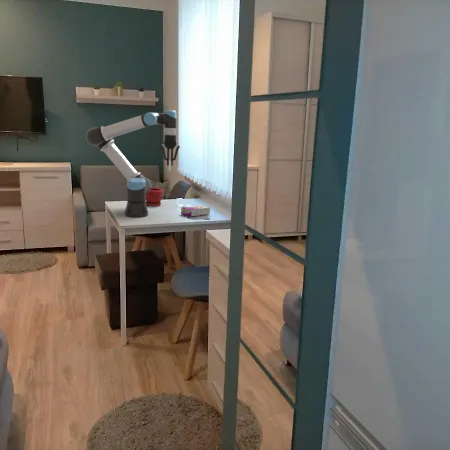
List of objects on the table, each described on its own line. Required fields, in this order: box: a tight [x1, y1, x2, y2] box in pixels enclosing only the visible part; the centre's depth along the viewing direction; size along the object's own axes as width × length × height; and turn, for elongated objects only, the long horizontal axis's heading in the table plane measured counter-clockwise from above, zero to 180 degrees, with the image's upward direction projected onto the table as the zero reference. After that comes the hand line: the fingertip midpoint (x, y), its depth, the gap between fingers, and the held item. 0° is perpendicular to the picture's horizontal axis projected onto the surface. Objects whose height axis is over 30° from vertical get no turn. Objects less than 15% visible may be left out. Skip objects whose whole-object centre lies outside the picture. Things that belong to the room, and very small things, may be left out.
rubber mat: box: [188, 214, 211, 220], centre depth 288 cm, size 13×12×1 cm
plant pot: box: [146, 187, 164, 207], centre depth 318 cm, size 13×13×12 cm
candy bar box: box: [180, 205, 211, 217], centre depth 294 cm, size 11×5×16 cm
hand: (169, 170), depth 292 cm, fingers closed
